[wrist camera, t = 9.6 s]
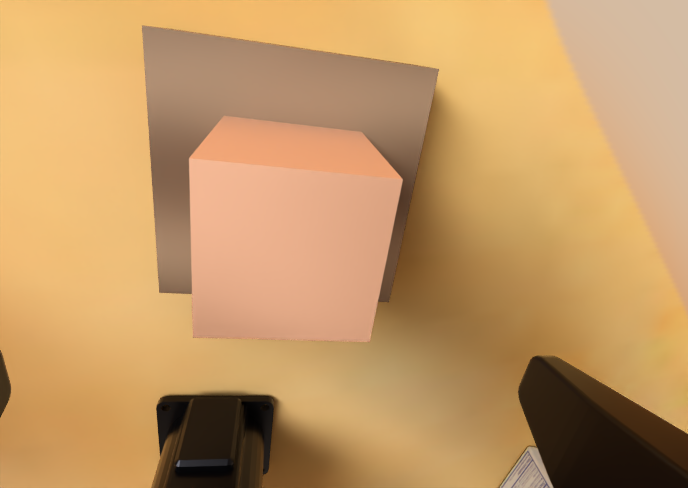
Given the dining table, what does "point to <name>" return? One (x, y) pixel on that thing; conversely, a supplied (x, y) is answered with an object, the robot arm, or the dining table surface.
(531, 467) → the medicine box
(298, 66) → the walnut base
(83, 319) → the dining table surface
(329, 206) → the terracotta block
